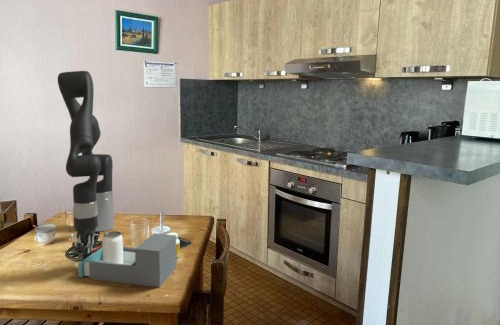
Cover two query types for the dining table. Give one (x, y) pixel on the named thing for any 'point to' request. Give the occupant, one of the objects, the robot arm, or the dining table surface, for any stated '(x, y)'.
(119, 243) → the can
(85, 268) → the tray
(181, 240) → the phone
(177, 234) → the supplement bottle
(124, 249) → the dock
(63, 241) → the dining table surface
